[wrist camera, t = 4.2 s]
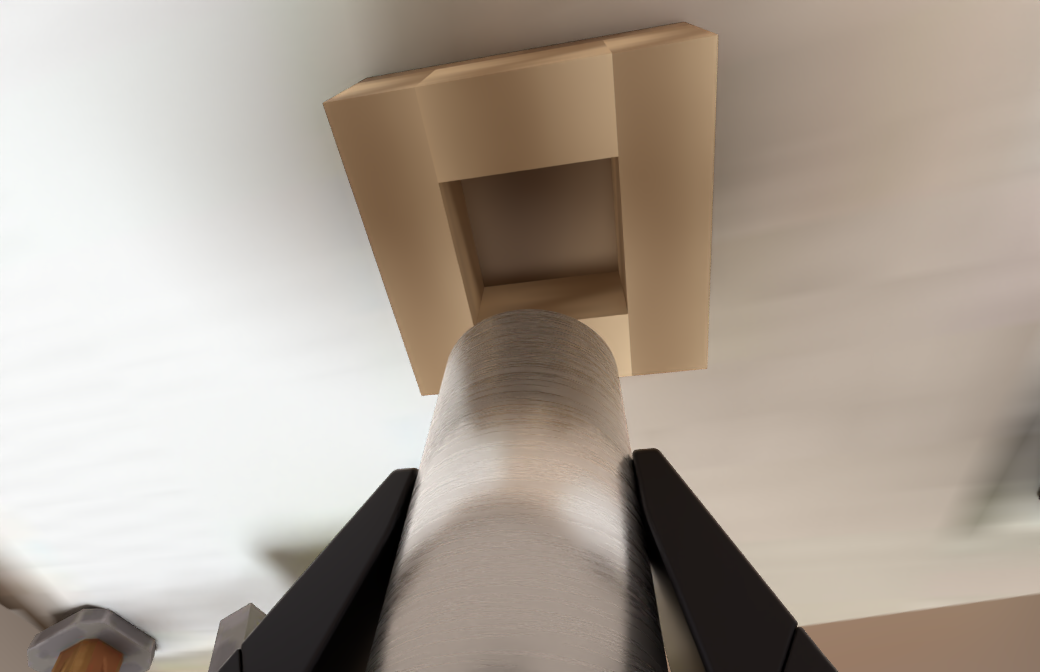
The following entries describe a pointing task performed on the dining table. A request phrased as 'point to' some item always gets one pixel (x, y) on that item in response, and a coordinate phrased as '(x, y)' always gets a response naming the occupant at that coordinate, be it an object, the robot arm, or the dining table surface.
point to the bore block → (544, 192)
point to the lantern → (122, 642)
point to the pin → (524, 515)
